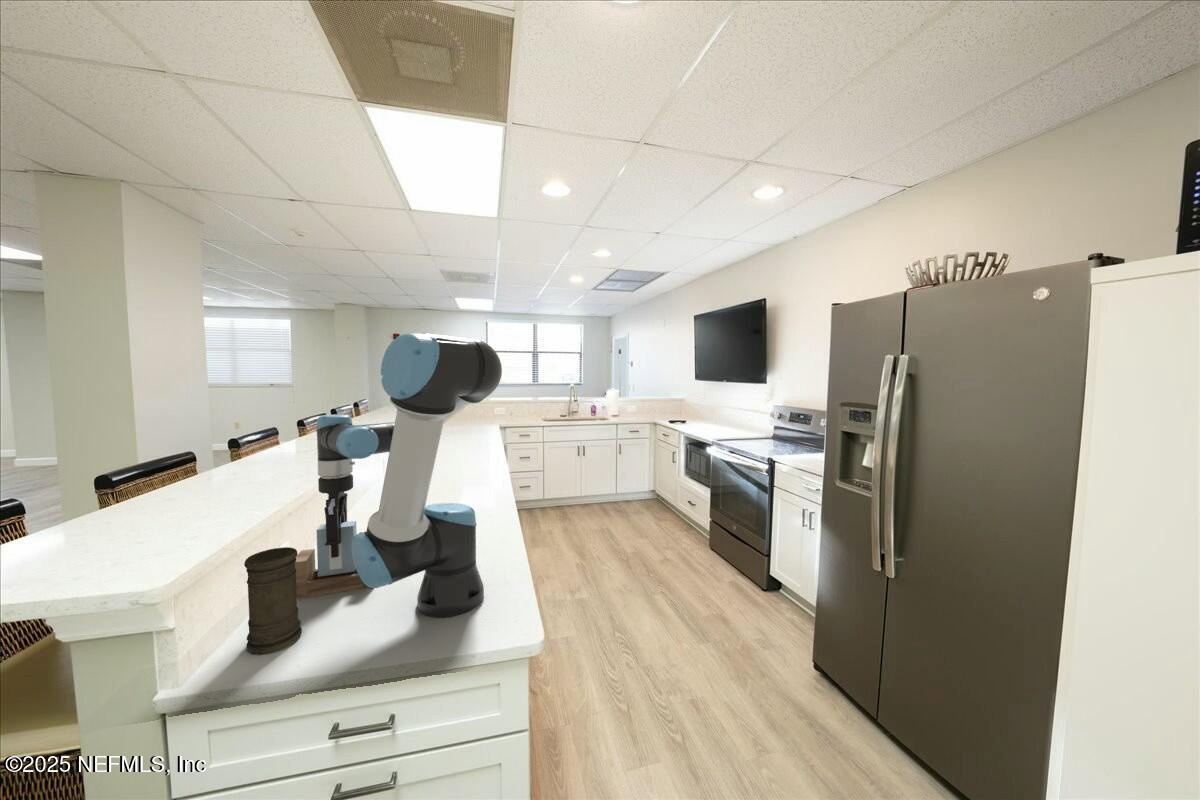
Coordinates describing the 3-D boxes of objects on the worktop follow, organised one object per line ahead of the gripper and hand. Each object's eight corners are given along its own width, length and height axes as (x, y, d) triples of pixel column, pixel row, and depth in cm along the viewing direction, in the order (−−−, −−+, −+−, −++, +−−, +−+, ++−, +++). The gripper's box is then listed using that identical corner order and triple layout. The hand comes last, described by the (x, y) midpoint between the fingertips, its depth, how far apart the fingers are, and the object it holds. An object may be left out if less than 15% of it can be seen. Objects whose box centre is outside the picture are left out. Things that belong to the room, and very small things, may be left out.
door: (354, 571, 107) (353, 525, 107) (317, 576, 104) (316, 529, 104) (357, 565, 111) (356, 520, 110) (322, 569, 108) (320, 524, 107)
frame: (375, 586, 107) (375, 551, 107) (292, 599, 101) (291, 562, 100) (379, 572, 115) (379, 540, 114) (302, 584, 108) (301, 550, 108)
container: (291, 651, 82) (288, 561, 81) (236, 659, 79) (232, 567, 78) (309, 625, 90) (306, 543, 89) (259, 632, 88) (256, 548, 87)
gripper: (345, 481, 100) (348, 576, 101) (358, 467, 116) (360, 549, 117) (308, 484, 97) (311, 582, 98) (327, 469, 113) (329, 553, 114)
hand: (338, 564), depth 108 cm, fingers closed on door, 4 cm apart
